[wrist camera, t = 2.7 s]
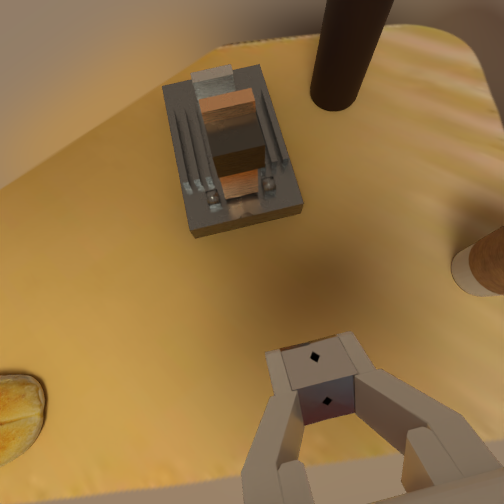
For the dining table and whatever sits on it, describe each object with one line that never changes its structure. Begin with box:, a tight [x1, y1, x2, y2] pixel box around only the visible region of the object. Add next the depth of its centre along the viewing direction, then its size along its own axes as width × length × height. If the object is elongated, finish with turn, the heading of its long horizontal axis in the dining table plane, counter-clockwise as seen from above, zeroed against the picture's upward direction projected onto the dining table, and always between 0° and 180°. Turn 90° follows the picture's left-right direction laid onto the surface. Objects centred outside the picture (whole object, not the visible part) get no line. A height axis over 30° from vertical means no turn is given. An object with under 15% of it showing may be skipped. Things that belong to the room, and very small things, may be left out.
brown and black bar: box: [199, 88, 265, 199], centre depth 28 cm, size 4×4×15 cm
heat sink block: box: [162, 64, 304, 238], centre depth 38 cm, size 22×14×6 cm, turn 14°
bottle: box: [310, 0, 394, 111], centre depth 34 cm, size 7×7×20 cm
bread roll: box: [0, 375, 45, 467], centre depth 31 cm, size 8×9×4 cm
